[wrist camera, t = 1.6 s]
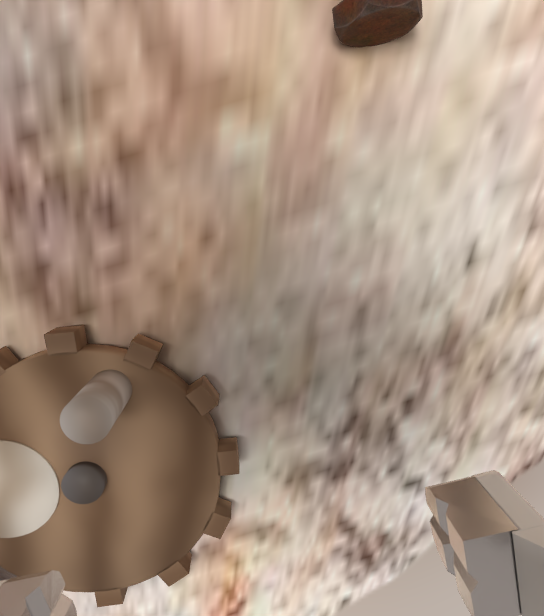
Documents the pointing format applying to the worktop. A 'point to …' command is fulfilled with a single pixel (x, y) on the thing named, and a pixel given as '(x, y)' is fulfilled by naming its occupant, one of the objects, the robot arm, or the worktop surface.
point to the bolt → (375, 20)
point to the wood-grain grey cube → (5, 574)
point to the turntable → (106, 465)
